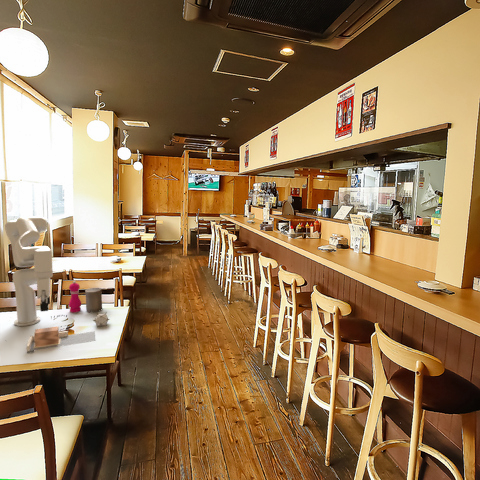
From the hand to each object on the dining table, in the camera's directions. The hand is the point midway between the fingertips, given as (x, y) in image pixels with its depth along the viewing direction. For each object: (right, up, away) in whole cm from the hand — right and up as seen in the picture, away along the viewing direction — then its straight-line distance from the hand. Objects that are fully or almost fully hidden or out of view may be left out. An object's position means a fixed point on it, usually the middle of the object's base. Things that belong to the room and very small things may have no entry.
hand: (45, 307), depth 161 cm
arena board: (+5, -19, +6) cm, 21 cm away
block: (-1, -19, +3) cm, 19 cm away
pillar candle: (0, -13, +52) cm, 54 cm away
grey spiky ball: (+16, -17, +27) cm, 36 cm away
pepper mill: (-10, -13, +49) cm, 52 cm away
